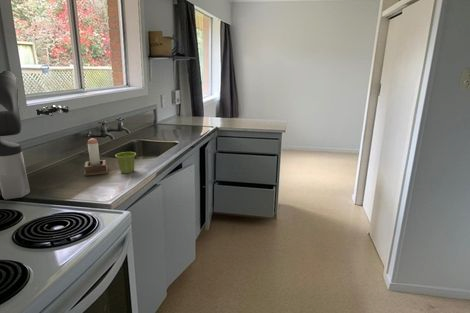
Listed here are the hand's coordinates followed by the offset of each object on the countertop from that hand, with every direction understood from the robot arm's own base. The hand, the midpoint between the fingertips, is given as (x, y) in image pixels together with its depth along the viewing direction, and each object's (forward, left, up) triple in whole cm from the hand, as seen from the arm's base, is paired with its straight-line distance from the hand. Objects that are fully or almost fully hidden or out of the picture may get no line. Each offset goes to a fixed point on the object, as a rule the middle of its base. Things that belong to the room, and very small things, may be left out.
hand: (57, 111), depth 148 cm
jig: (-7, -14, -29) cm, 33 cm away
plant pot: (-13, -28, -29) cm, 42 cm away
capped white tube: (-7, -13, -28) cm, 32 cm away
